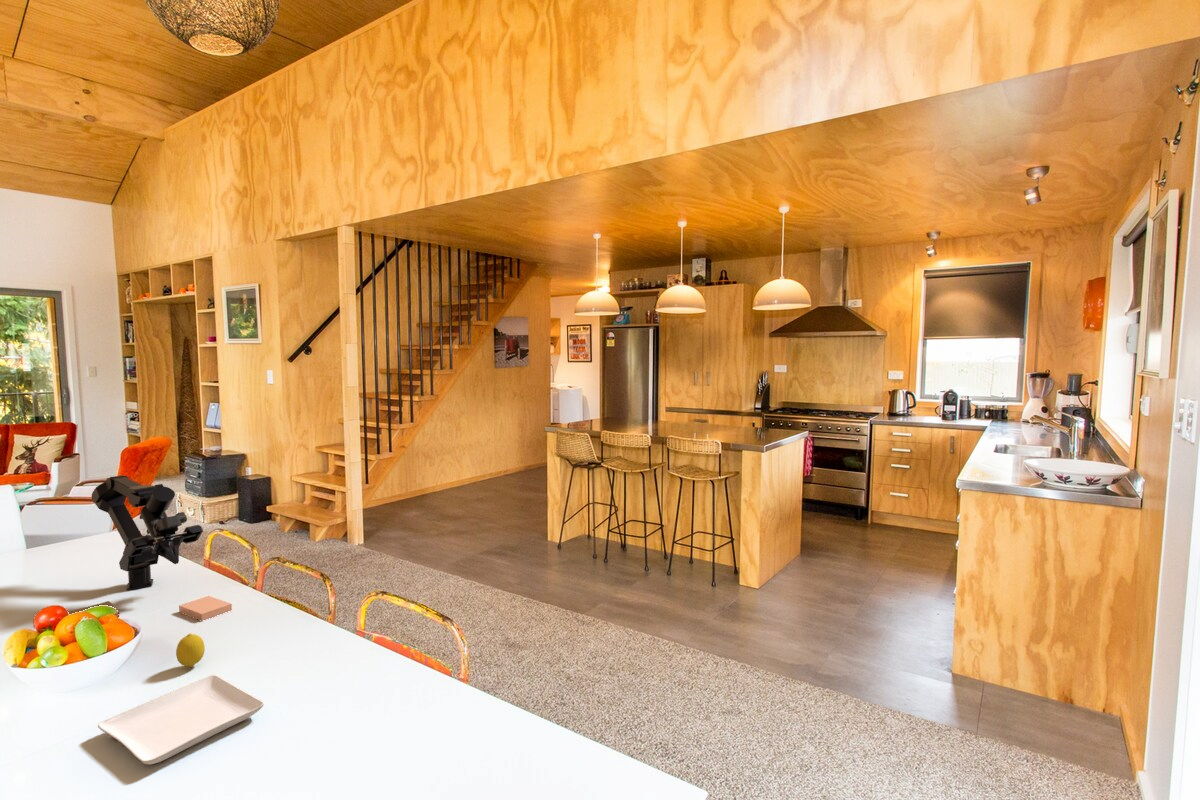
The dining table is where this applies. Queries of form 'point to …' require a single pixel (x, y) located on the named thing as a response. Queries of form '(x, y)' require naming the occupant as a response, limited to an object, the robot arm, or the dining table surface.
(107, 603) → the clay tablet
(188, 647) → the lemon
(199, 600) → the tile
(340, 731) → the dining table surface
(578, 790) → the dining table surface
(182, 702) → the salad plate
